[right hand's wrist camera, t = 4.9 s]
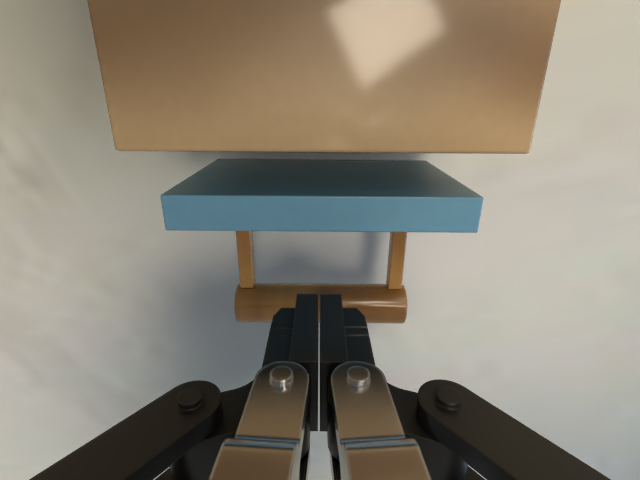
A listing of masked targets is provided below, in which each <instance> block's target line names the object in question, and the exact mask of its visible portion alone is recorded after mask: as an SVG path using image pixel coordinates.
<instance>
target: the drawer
mask: <svg viewBox="0 0 640 480" xmlns="http://www.w3.org/2000/svg"><path fill="white" fill-rule="evenodd" d="M161 202H162V208H163V215H164V221H165V228H166V230H211V231H236V238H237V250H238V263H239V275H240V283H239V284H238V286H237V289H236V294H235V317H236V320H237V321H238V322H272V319H273V316H274V315H275V314H276V313H277V312H278V311H279V309H280V308H295V305H296V297H297V293H318V323H320V293H341V296H342V305H343V308H358V309H359V310H360V312H361V313H362V314H363V315H364V316H365V319H366V323H404V322H405V319H406V315H407V296H406V291H405V288H404V286H403V285H402V278H403V268H404V257H405V247H406V237H407V232H471V233H476V232H478V226H479V220H480V215H481V209H482V203H483V197H482V196H480V195H478V194H477V193H475V192H474V191H472V190H471V189H469V188H468V187H466V186H464V185H463V184H461V183H460V182H458V181H457V180H455V179H454V178H452V177H450V176H449V175H447V174H446V173H444V172H443V171H441V170H439V169H438V168H436V167H435V166H433V165H432V164H430V163H429V162H427V161H392V160H254V159H218V160H216V161H214V162H213V163H211V164H210V165H208V166H206V167H205V168H203V169H202V170H200V171H198V172H197V173H195V174H194V175H192V176H190V177H189V178H187V179H186V180H184V181H182V182H181V183H179V184H178V185H176V186H174V187H173V188H171V189H170V190H168V191H167V192H165V193H163V194H162V195H161ZM252 231H341V232H390V243H389V256H388V268H387V281H386V283H387V284H314V283H255V282H256V281H255V266H254V250H253V234H252Z"/></svg>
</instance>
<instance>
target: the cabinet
mask: <svg viewBox="0 0 640 480" xmlns="http://www.w3.org/2000/svg"><path fill="white" fill-rule="evenodd" d="M87 1H88V6H89V11H90V17H91V22H92V27H93V32H94V38H95V43H96V48H97V54H98V59H99V64H100V69H101V75H102V80H103V85H104V91H105V96H106V101H107V106H108V112H109V117H110V122H111V127H112V133H113V138H114V143H115V148H116V150H119V151H220V152H358V153H497V154H526V153H529V151H530V147H531V142H532V137H533V132H534V127H535V123H536V118H537V113H538V108H539V103H540V99H541V94H542V89H543V84H544V79H545V74H546V70H547V65H548V60H549V55H550V50H551V46H552V41H553V36H554V31H555V26H556V21H557V17H558V12H559V7H560V2H561V0H87Z"/></svg>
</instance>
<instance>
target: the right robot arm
mask: <svg viewBox="0 0 640 480" xmlns="http://www.w3.org/2000/svg"><path fill="white" fill-rule="evenodd" d="M310 431H318V293H297V297H296V305H295V308H280V309H279V311H278V312H277V313H276V314H275V315H274V316H273V319H272V324H271V328H270V333H269V337H268V342H267V347H266V351H265V356H264V361H263V365H262V368H261V369H260V370H259V371H258V372H257V374H256V376H255V378H254V380H253V381H251V382H250V383H249V384H247V385H245V386H243V387H240V388H237V389H234V390H229V391H225V392H221V393H220V390H219V388H218V387H217V386H216V385H215V384H213V383H211V382H208V381H199V380H198V381H191V382H187V383H183V384H181V385H179V386H177V387H175V388H173V389H172V390H170V391H169V392H167V393H165V394H164V395H162V396H161V397H159V398H158V399H156V400H154V401H153V402H151V403H150V404H148V405H147V406H145V407H143V408H142V409H140V410H139V411H137V412H135V413H134V414H132V415H131V416H129V417H128V418H126V419H124V420H123V421H121V422H120V423H118V424H116V425H115V426H113V427H112V428H110V429H109V430H107V431H105V432H104V433H102V434H101V435H99V436H98V437H96V438H94V439H93V440H91V441H90V442H88V443H86V444H85V445H83V446H82V447H80V448H79V449H77V450H75V451H74V452H72V453H71V454H69V455H67V456H66V457H64V458H63V459H61V460H60V461H58V462H56V463H55V464H53V465H52V466H50V467H49V468H47V469H45V470H44V471H42V472H41V473H39V474H37V475H36V476H34V477H33V478H31V479H30V480H153V479H154V478H156V477H157V476H158V475H159V474H161V473H162V472H163V471H164V470H166V469H167V468H168V467H169V466H170V468H169V469H168V470H166V471H165V472H164V473H163V474H161V475H160V476H159V477H158V478H156V479H155V480H308V473H309V464H310ZM320 431H327V436H328V448H329V451H330V464H331V473H332V480H485V479H484V478H486V479H487V480H610V479H609V478H607V477H606V476H604V475H603V474H601V473H599V472H598V471H596V470H595V469H593V468H591V467H590V466H588V465H587V464H585V463H584V462H582V461H580V460H579V459H577V458H576V457H574V456H573V455H571V454H569V453H568V452H566V451H565V450H563V449H561V448H560V447H558V446H557V445H555V444H554V443H552V442H550V441H549V440H547V439H546V438H544V437H542V436H541V435H539V434H538V433H536V432H535V431H533V430H531V429H530V428H528V427H527V426H525V425H524V424H522V423H520V422H519V421H517V420H516V419H514V418H512V417H511V416H509V415H508V414H506V413H505V412H503V411H501V410H500V409H498V408H497V407H495V406H493V405H492V404H490V403H489V402H487V401H486V400H484V399H482V398H481V397H479V396H478V395H476V394H475V393H473V392H471V391H470V390H468V389H467V388H465V387H463V386H462V385H460V384H457V383H455V382H452V381H447V380H432V381H428V382H426V383H424V384H423V385H422V386H421V387H420V389H419V391H418V393H415V392H411V391H407V390H403V389H400V388H397V387H395V386H392V385H391V384H389V383H387V381H386V378H385V376H384V374H383V372H382V371H381V370H380V369H379V368H377V367H376V366H375V362H374V357H373V353H372V348H371V343H370V338H369V333H368V328H367V324H366V319H365V316H364V315H363V314H362V313H361V312H360V310H359V309H358V308H343V305H342V296H341V293H320ZM468 465H469V466H471V467H472V468H473V469H474V470H476V471H477V472H478V473H479V474H481V475H482V476H483V477H484V478H482V477H481V476H480V475H479V474H477V473H476V472H475V471H474V470H472V469H471V468H470V467H469V466H468Z"/></svg>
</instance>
